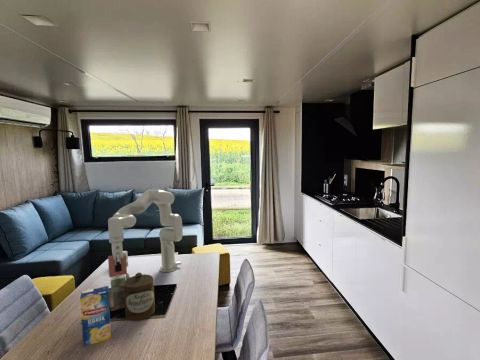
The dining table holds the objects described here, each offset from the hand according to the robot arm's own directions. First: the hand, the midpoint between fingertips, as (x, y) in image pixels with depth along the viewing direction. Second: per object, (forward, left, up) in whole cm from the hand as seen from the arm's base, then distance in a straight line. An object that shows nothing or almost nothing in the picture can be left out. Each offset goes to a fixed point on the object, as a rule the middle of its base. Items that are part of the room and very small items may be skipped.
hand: (117, 269), depth 149 cm
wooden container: (-8, +19, -19) cm, 28 cm away
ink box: (-7, -57, -19) cm, 60 cm away
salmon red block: (0, 0, -3) cm, 3 cm away
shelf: (-1, -3, -19) cm, 19 cm away
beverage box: (+12, +29, -19) cm, 37 cm away
